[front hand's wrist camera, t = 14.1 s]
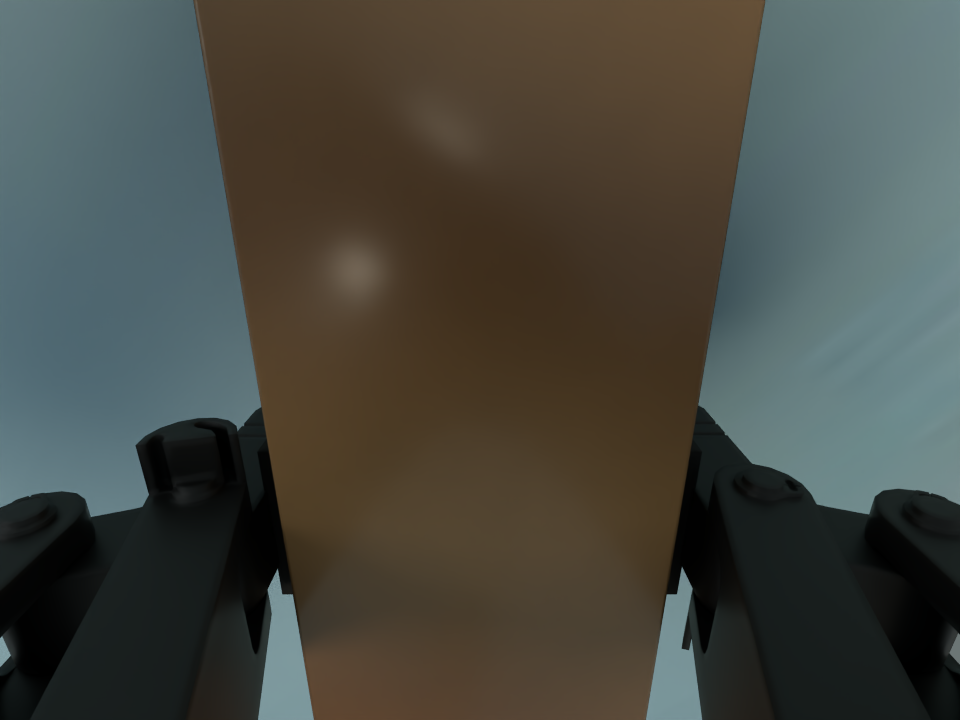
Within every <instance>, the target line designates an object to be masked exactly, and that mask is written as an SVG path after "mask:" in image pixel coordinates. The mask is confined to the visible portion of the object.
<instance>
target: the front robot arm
mask: <svg viewBox="0 0 960 720" xmlns="http://www.w3.org/2000/svg"><path fill="white" fill-rule="evenodd" d="M136 449H137V453H138V456H139V460H140V463H141V467H142V471H143V474H144V478H145V482H146V485H147V489H148V493H149V496H148V498H147V500H146V502H145V504H144V505H143V507H140V508H136V509H132V510H126V511H121V512H116V513H110V514H105V515H100V516H94V517H91V516H90V513H89V510H88V507H87V504H86V501H85V499H84V498H83V497H81V496H80V495H78V494H77V493H70V492H62V491H61V492H52V493H40V494H35V495H31V497H29V496H27V497H23V498H20V499H17V500H15V501H13V502H12V503H10V504H8V505H6V506H3V507H1V508H0V638H1V637H3V639H4V641H5V643H6V646H7V648H8V650H9V652H10V654H11V656H10V657H9V658H8V659H7V661H6V662H5V663H4V664H3V665H2V666H1V667H0V720H258V715H259V707H260V699H261V692H262V684H263V676H264V668H265V661H266V653H267V645H268V638H269V630H270V622H271V615H272V613H271V606H270V600H269V595H268V587H269V585H270V583H271V581H272V579H273V577H274V575H275V573H276V571H277V569H278V572H279V578H280V583H281V589H282V594H293V591H292V585H291V579H290V574H289V568H288V562H287V556H286V550H285V544H284V538H283V532H282V526H281V520H280V514H279V508H278V502H277V496H276V490H275V484H274V478H273V472H272V466H271V460H270V454H269V448H268V442H267V436H266V430H265V424H264V418H263V413H262V407H261V408H259V409H258V410H256V411H255V412H254V413H253V414H252V415H251V416H250V418H249V419H248V420H247V421H246V422H245V423H244V426H242V427H241V428H240V429H239V430H238V432H237V427H236V425H234V424H233V423H232V422H230V421H229V420H224V419H219V418H197V419H191V420H186V421H181V422H177V423H174V424H171V425H168V426H165V427H162V428H160V429H158V430H156V431H154V432H152V433H150V434H148V435H146V436H145V437H144V438H143V439H142V440H141V441H140V442H139V443H138V444H136ZM682 567H683V569H684V571H685V573H686V576H687V578H688V580H689V582H690V584H691V586H692V588H693V589H692V595H691V600H690V605H689V610H688V616H687V621H686V626H685V631H684V637H683V643H682V649H686V650H689V648H690V643H691V639H692V644H693V652H694V659H695V667H696V675H697V683H698V690H699V698H700V706H701V713H702V720H960V664H959V663H958V662H957V661H956V660H955V659H954V658H953V657H952V656H951V655H950V654H949V652H950V650H951V648H952V646H953V643H954V641H955V639H956V637H957V634H958V633H959V634H960V505H959V504H956V503H954V502H951V501H949V500H947V499H946V498H945V497H942V496H939V495H936V494H932V493H931V494H929V492H924V491H919V490H915V491H914V490H905V489H893V490H885V491H882V492H881V493H879V494H878V495H876V496H875V498H874V501H873V504H872V507H871V510H870V514H869V515H868V514H863V513H857V512H852V511H846V510H841V509H836V508H830V507H825V506H821V505H817V504H816V503H815V501H814V499H813V497H812V495H811V494H810V492H809V491H808V490H807V489H806V488H805V487H804V485H803V484H802V483H800V482H798V481H797V480H795V479H794V478H792V477H791V476H789V475H787V474H785V473H782V472H780V471H777V470H775V469H772V468H769V467H765V466H760V465H755V464H752V463H751V462H750V461H749V460H748V459H747V458H746V456H745V455H744V454H743V453H742V452H741V451H740V450H739V448H738V447H737V446H736V445H735V444H734V443H733V441H732V440H731V439H730V438H729V437H728V436H727V435H725V432H724V431H723V430H722V429H721V428H720V427H719V425H718V424H715V421H714V420H713V418H712V417H711V416H710V415H709V414H708V413H707V412H706V410H705V409H704V408H702V407H700V406H698V408H697V414H696V420H695V426H694V432H693V438H692V444H691V450H690V456H689V462H688V468H687V474H686V480H685V486H684V493H683V499H682V505H681V511H680V517H679V523H678V529H677V535H676V541H675V547H674V553H673V559H672V565H671V571H670V577H669V583H668V589H667V594H677V591H678V585H679V580H680V574H681V568H682Z"/></svg>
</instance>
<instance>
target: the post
mask: <svg viewBox="0 0 960 720" xmlns="http://www.w3.org/2000/svg"><path fill="white" fill-rule="evenodd" d="M193 1H194V7H195V13H196V19H197V25H198V31H199V37H200V43H201V49H202V55H203V61H204V67H205V73H206V79H207V85H208V90H209V96H210V102H211V108H212V114H213V120H214V126H215V132H216V138H217V144H218V150H219V156H220V162H221V168H222V174H223V180H224V186H225V192H226V198H227V204H228V210H229V216H230V222H231V228H232V234H233V240H234V246H235V252H236V257H237V263H238V269H239V275H240V281H241V287H242V293H243V299H244V305H245V311H246V317H247V323H248V329H249V335H250V341H251V347H252V353H253V359H254V365H255V371H256V377H257V383H258V389H259V395H260V401H261V407H262V413H263V418H264V424H265V430H266V436H267V442H268V448H269V454H270V460H271V466H272V472H273V478H274V484H275V490H276V496H277V502H278V508H279V514H280V520H281V526H282V532H283V538H284V544H285V550H286V556H287V562H288V568H289V574H290V579H291V585H292V591H293V597H294V603H295V609H296V615H297V621H298V627H299V633H300V639H301V645H302V651H303V657H304V663H305V669H306V675H307V681H308V687H309V693H310V699H311V705H312V711H313V717H314V720H646V715H647V709H648V703H649V697H650V691H651V685H652V679H653V673H654V667H655V661H656V655H657V649H658V643H659V637H660V631H661V625H662V619H663V613H664V607H665V601H666V595H667V589H668V583H669V577H670V571H671V565H672V559H673V553H674V547H675V541H676V535H677V529H678V523H679V517H680V511H681V505H682V499H683V493H684V486H685V480H686V474H687V468H688V462H689V456H690V450H691V444H692V438H693V432H694V426H695V420H696V414H697V408H698V402H699V396H700V390H701V384H702V378H703V372H704V366H705V360H706V354H707V348H708V342H709V336H710V330H711V324H712V318H713V312H714V306H715V300H716V294H717V288H718V282H719V276H720V270H721V264H722V258H723V252H724V246H725V240H726V234H727V228H728V222H729V216H730V210H731V204H732V198H733V192H734V186H735V180H736V174H737V168H738V162H739V156H740V150H741V144H742V138H743V132H744V125H745V119H746V113H747V107H748V101H749V95H750V89H751V83H752V77H753V71H754V65H755V59H756V53H757V47H758V41H759V35H760V29H761V23H762V17H763V11H764V5H765V0H193Z"/></svg>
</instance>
